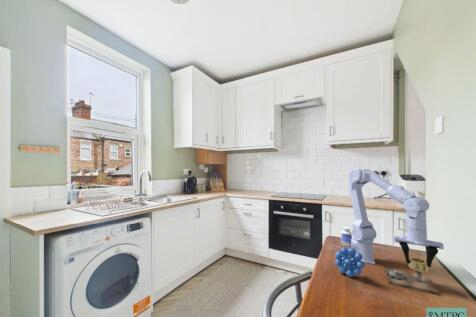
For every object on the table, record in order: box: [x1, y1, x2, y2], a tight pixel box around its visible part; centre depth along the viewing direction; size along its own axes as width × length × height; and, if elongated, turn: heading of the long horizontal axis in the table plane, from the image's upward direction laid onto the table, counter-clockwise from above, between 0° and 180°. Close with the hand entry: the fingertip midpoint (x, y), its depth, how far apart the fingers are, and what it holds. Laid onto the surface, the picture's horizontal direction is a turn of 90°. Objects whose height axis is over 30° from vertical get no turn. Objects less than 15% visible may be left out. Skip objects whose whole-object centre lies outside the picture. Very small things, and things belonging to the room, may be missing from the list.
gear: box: [407, 256, 429, 273], centre depth 78 cm, size 6×7×3 cm
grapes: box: [334, 246, 366, 278], centre depth 83 cm, size 12×7×12 cm, turn 39°
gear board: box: [383, 267, 439, 296], centre depth 79 cm, size 14×12×4 cm
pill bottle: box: [340, 226, 353, 247], centre depth 118 cm, size 5×5×10 cm
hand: (417, 264), depth 78 cm, fingers closed on gear, 6 cm apart
